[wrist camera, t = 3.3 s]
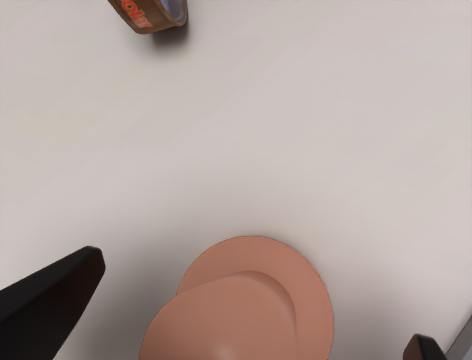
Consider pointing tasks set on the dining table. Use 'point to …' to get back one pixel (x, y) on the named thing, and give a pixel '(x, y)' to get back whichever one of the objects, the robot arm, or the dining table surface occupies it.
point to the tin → (151, 14)
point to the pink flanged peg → (244, 307)
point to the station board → (462, 345)
